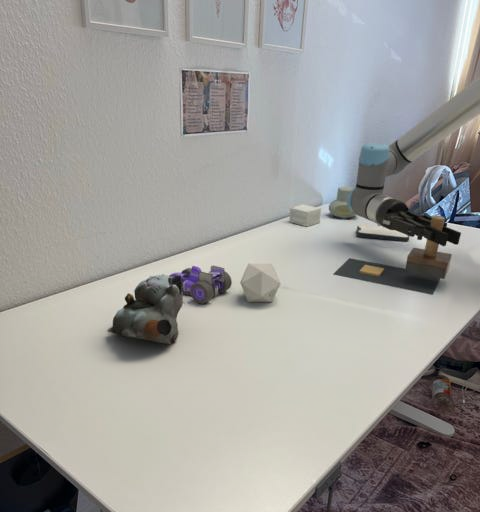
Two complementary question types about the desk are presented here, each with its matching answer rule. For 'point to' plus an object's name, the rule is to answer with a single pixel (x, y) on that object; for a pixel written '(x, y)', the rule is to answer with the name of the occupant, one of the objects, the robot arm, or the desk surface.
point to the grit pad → (371, 270)
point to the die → (260, 282)
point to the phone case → (381, 233)
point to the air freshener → (341, 204)
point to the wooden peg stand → (429, 256)
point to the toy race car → (204, 283)
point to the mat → (389, 276)
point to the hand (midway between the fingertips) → (452, 239)
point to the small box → (305, 215)
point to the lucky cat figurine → (151, 310)
